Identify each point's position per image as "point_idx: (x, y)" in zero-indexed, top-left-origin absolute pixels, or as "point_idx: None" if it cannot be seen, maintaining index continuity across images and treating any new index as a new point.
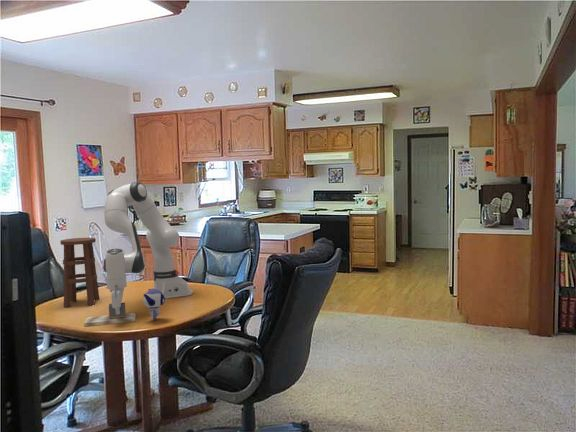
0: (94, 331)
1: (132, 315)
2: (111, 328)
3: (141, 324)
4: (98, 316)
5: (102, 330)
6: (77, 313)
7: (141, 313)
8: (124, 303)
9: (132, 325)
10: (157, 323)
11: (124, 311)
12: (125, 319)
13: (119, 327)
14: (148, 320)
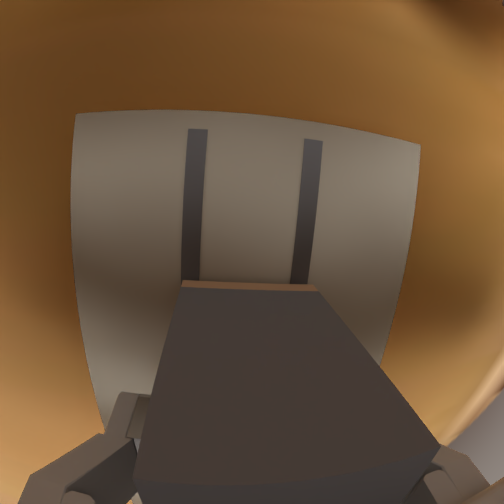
0: (445, 443)
1: (242, 159)
2: (469, 365)
3: (500, 114)
4: (135, 499)
5: (463, 409)
6: (2, 497)
7: (29, 62)
8: (332, 480)
9: (498, 196)
10: (496, 8)
11: (347, 335)
12: (401, 273)
13: (486, 309)
14: (408, 11)
